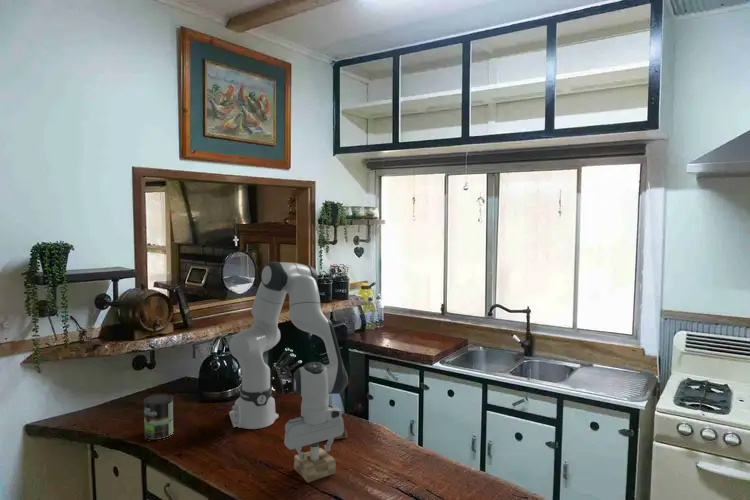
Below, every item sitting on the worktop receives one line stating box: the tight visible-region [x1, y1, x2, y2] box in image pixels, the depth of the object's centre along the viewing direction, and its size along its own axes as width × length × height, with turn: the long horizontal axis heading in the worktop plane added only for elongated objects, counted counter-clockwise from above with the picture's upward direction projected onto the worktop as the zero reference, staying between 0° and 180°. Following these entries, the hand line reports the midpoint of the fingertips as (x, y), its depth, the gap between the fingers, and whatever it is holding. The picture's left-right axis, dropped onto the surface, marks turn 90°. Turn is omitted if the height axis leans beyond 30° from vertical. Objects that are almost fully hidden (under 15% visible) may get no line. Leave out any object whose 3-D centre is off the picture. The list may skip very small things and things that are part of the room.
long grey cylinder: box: [309, 442, 320, 462], centre depth 162 cm, size 3×3×10 cm
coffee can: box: [143, 393, 174, 439], centre depth 187 cm, size 10×10×14 cm
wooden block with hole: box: [293, 447, 337, 483], centre depth 162 cm, size 10×10×4 cm
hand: (314, 454), depth 162 cm, fingers open, 8 cm apart
